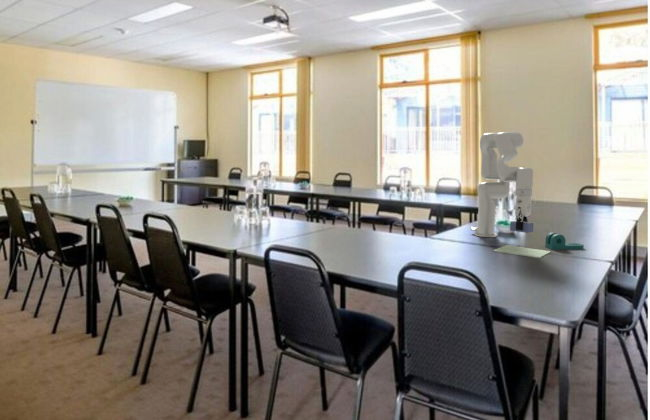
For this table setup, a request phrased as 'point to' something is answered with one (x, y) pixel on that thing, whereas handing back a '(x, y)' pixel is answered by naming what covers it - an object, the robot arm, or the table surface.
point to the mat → (522, 251)
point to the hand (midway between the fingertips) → (521, 228)
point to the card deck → (526, 227)
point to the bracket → (560, 242)
